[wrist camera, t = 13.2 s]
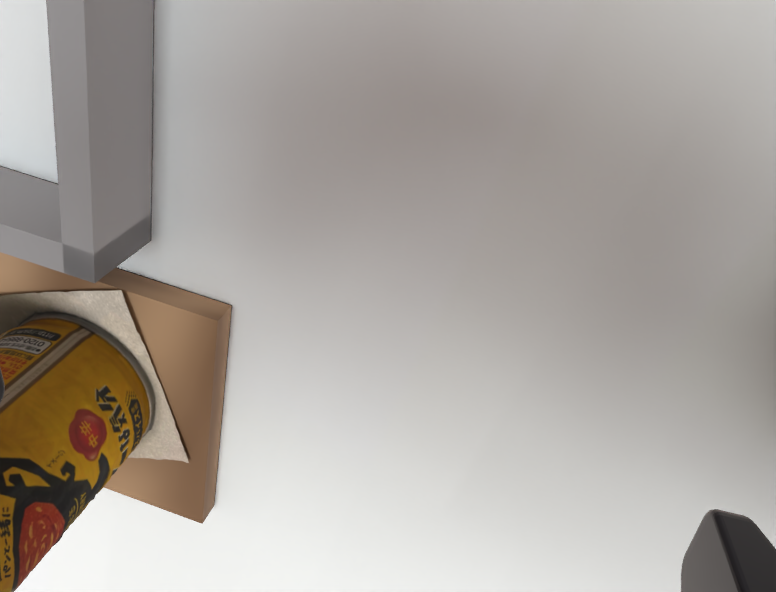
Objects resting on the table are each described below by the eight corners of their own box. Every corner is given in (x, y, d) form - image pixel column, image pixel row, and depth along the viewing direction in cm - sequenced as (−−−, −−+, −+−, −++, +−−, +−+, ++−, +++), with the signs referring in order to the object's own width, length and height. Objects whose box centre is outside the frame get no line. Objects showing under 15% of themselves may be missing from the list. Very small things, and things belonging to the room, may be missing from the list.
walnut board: (231, 305, 23) (217, 321, 22) (213, 505, 29) (202, 523, 28) (-80, 204, 25) (-104, 215, 24) (-42, 411, 30) (-60, 426, 29)
